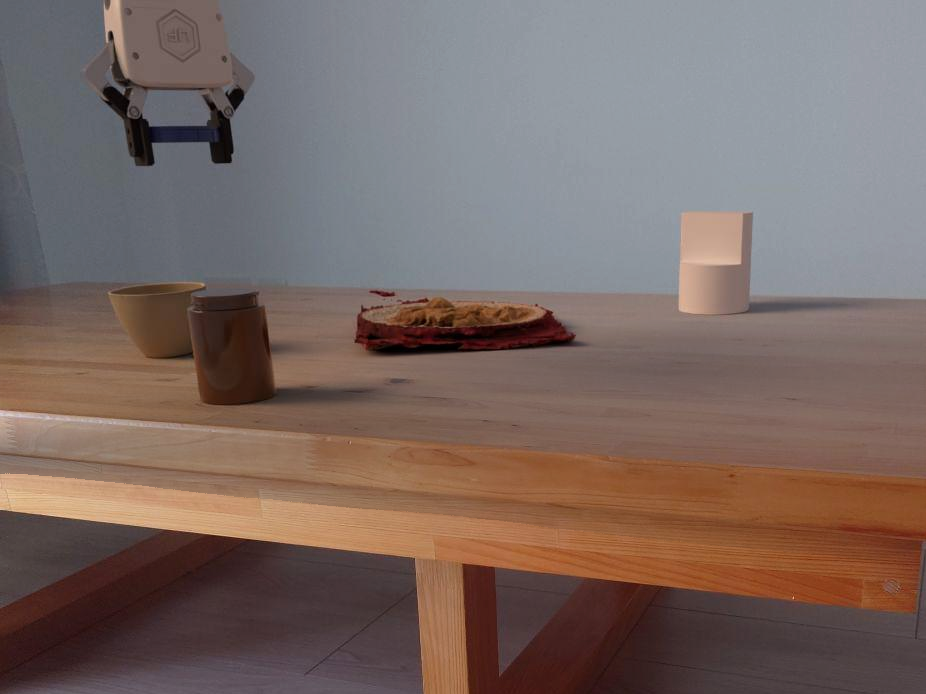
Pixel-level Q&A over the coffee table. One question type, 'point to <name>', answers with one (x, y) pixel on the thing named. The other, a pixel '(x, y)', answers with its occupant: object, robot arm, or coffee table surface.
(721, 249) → the base with upright slab
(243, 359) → the jar
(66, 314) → the coffee table surface
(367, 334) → the plate with food
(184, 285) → the flower pot
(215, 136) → the jar lid
